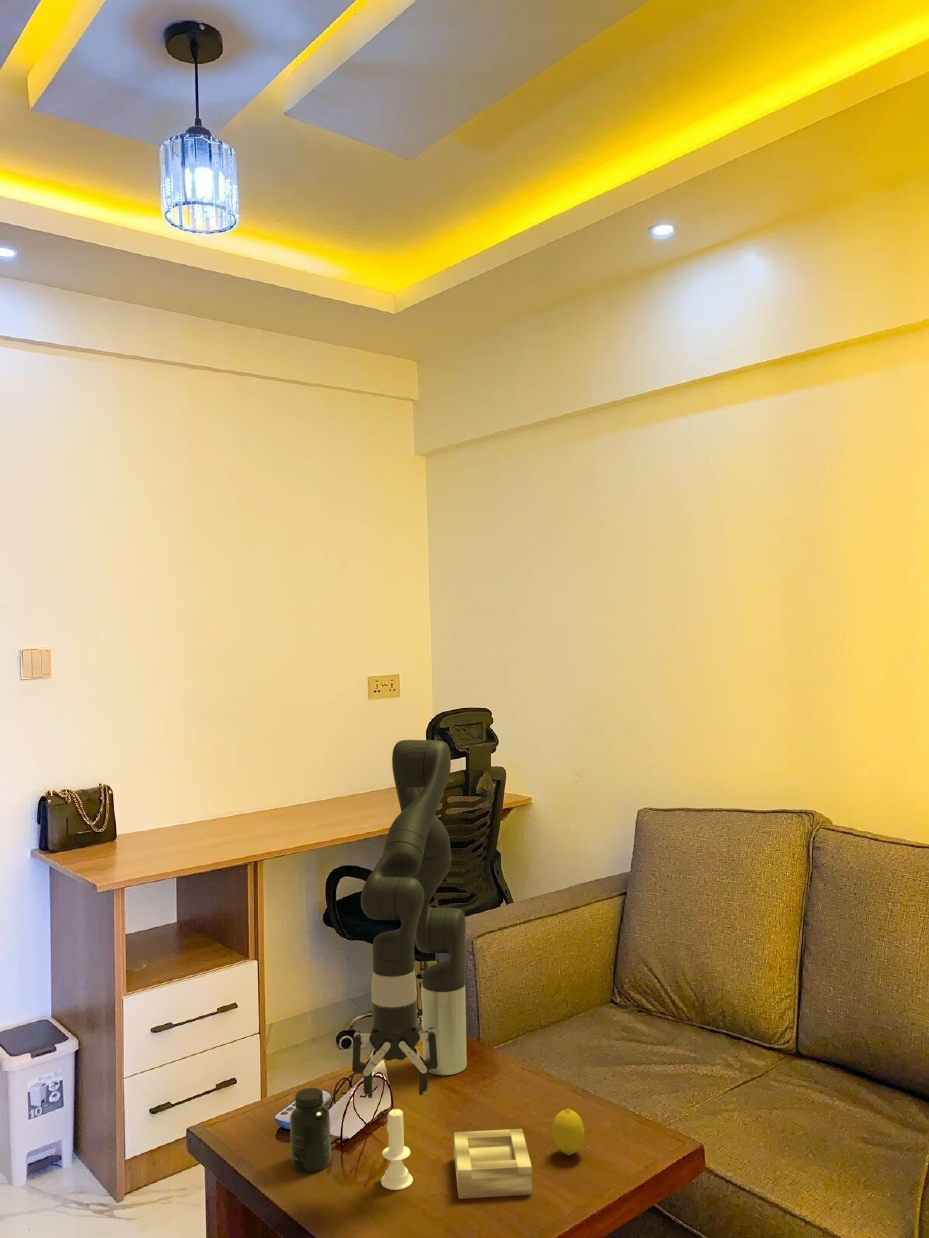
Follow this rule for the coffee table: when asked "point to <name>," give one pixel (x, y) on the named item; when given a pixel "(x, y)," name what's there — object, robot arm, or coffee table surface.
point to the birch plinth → (492, 1163)
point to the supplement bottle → (310, 1132)
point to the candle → (396, 1154)
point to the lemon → (568, 1131)
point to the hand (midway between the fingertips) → (395, 1094)
